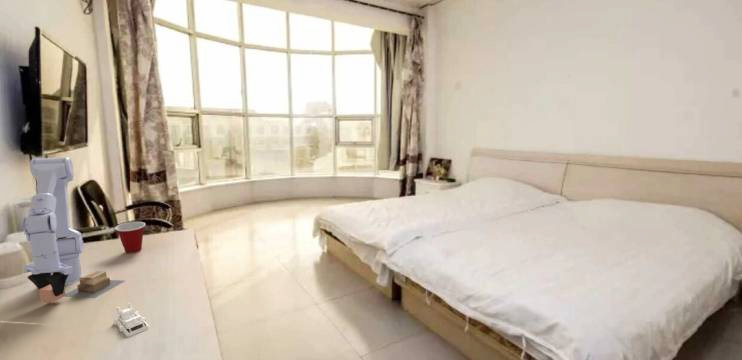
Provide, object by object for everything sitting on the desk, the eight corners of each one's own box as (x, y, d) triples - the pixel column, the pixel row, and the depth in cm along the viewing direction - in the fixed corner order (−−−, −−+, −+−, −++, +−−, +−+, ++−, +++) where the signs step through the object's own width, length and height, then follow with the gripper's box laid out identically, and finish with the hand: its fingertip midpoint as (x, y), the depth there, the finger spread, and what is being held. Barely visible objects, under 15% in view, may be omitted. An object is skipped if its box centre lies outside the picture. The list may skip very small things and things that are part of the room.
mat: (61, 296, 109) (61, 296, 109) (94, 279, 121) (94, 279, 121) (94, 298, 108) (94, 297, 108) (125, 281, 120) (125, 280, 120)
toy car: (125, 339, 88) (123, 324, 88) (111, 322, 96) (109, 308, 95) (152, 328, 93) (150, 313, 92) (136, 313, 100) (134, 300, 100)
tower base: (78, 291, 112) (77, 284, 112) (94, 283, 118) (93, 276, 117) (94, 292, 111) (93, 285, 111) (110, 284, 117) (109, 277, 117)
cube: (40, 301, 103) (38, 289, 103) (54, 295, 107) (52, 283, 107) (52, 302, 103) (50, 290, 102) (65, 295, 107) (63, 284, 106)
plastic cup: (121, 258, 141) (118, 230, 139) (115, 251, 148) (112, 225, 146) (151, 250, 149) (148, 224, 147) (144, 244, 156) (141, 219, 154)
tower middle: (80, 284, 112) (78, 277, 112) (93, 277, 117) (92, 270, 116) (93, 285, 112) (92, 277, 111) (106, 278, 116) (105, 271, 116)
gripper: (9, 257, 99) (17, 299, 102) (53, 259, 98) (60, 302, 100) (34, 248, 106) (42, 288, 109) (76, 250, 105) (83, 290, 107)
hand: (52, 294), depth 105 cm, fingers closed on cube, 4 cm apart
